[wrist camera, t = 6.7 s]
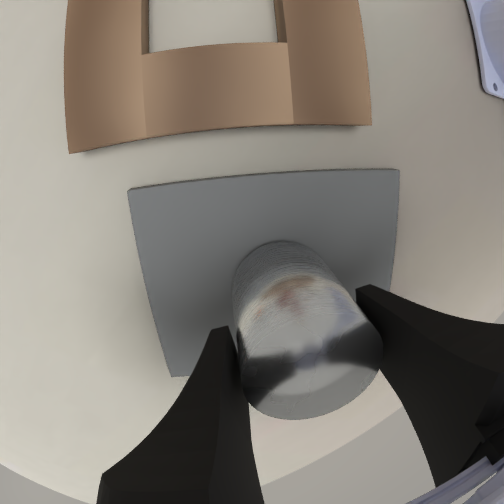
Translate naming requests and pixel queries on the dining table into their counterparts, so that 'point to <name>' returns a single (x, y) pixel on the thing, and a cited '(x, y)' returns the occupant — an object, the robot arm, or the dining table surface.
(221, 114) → the bore plate
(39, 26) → the dining table surface
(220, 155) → the dining table surface
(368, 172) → the rubber mat
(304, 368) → the end cover
